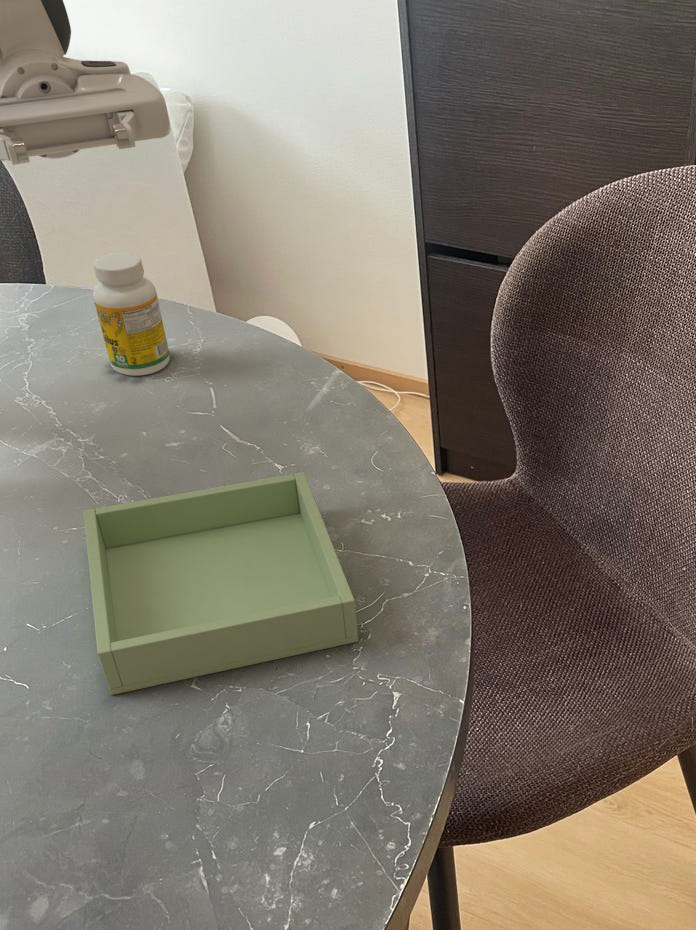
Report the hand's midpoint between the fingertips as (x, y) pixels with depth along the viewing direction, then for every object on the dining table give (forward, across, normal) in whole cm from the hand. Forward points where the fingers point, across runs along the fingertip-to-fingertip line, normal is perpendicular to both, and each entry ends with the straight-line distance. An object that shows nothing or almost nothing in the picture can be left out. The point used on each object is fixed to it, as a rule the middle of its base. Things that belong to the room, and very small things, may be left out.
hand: (73, 146), depth 94 cm
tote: (+48, -4, +16) cm, 51 cm away
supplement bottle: (+12, 0, +16) cm, 20 cm away
